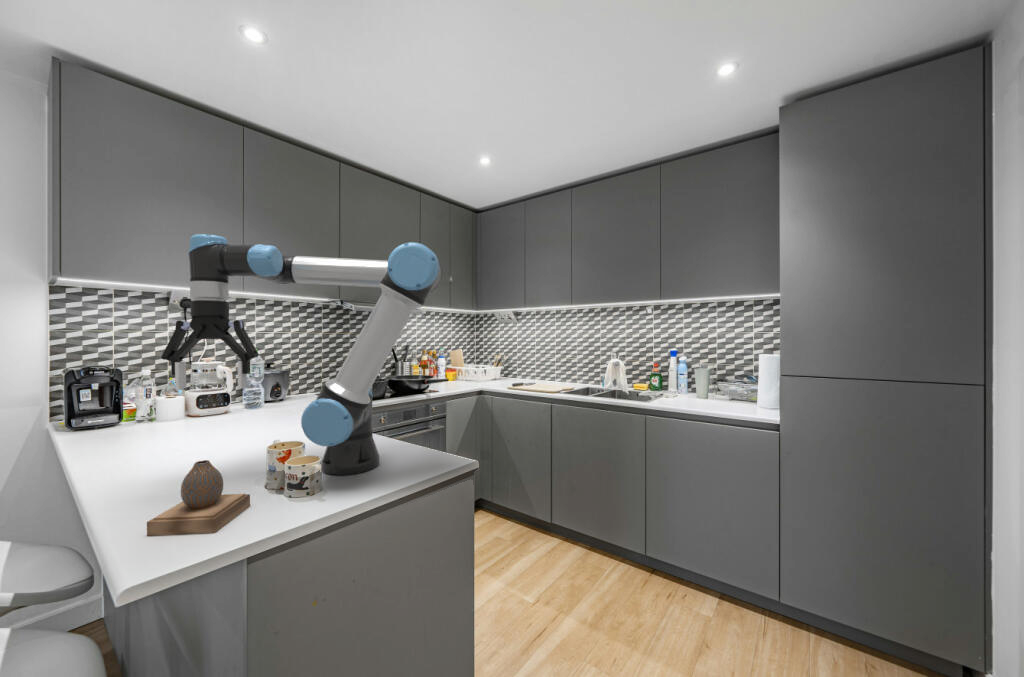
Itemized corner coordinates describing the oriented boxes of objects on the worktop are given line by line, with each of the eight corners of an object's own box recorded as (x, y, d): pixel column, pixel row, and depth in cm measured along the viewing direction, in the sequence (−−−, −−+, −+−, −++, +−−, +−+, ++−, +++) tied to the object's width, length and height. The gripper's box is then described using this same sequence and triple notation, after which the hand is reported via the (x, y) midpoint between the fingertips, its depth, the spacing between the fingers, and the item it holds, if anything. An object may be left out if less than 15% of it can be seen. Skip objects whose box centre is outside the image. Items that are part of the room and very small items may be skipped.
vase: (226, 505, 83) (225, 461, 82) (182, 515, 78) (181, 469, 78) (220, 495, 88) (220, 454, 88) (179, 504, 83) (178, 461, 83)
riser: (250, 506, 89) (249, 492, 89) (214, 532, 77) (214, 517, 77) (191, 508, 88) (191, 494, 88) (147, 535, 76) (146, 520, 76)
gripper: (272, 301, 104) (274, 384, 105) (163, 301, 101) (165, 387, 101) (258, 299, 97) (260, 388, 97) (140, 299, 93) (142, 392, 94)
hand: (212, 388), depth 99 cm, fingers open, 13 cm apart
